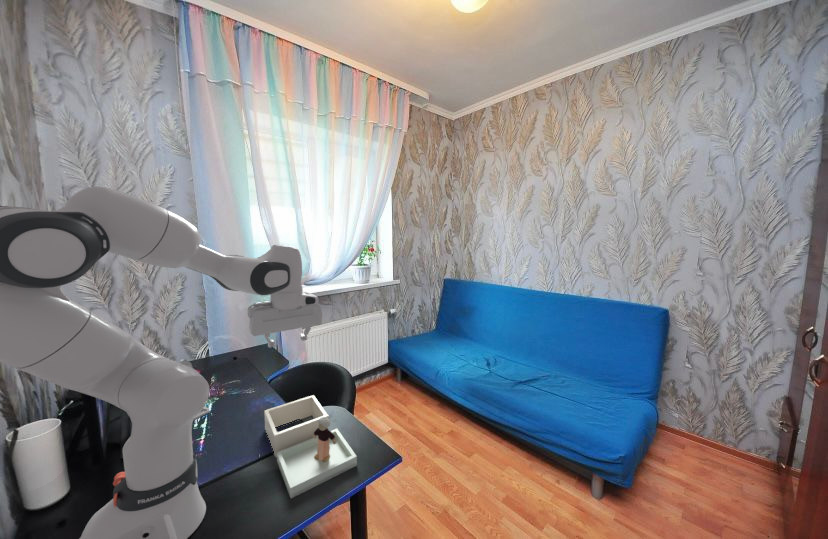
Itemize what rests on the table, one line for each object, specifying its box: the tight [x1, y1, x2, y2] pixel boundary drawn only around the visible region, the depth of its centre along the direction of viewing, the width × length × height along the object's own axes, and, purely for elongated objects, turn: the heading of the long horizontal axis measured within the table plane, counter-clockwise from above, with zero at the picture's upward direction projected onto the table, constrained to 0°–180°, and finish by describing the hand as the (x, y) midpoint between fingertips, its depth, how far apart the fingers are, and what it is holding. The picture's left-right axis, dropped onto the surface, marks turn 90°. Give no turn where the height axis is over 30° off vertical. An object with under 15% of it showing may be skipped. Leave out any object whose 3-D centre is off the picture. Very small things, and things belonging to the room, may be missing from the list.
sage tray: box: [276, 428, 358, 499], centre depth 85 cm, size 18×14×3 cm
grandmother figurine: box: [313, 417, 336, 462], centre depth 85 cm, size 8×4×13 cm, turn 83°
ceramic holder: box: [263, 394, 330, 458], centre depth 96 cm, size 16×14×7 cm
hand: (288, 343), depth 91 cm, fingers open, 8 cm apart
